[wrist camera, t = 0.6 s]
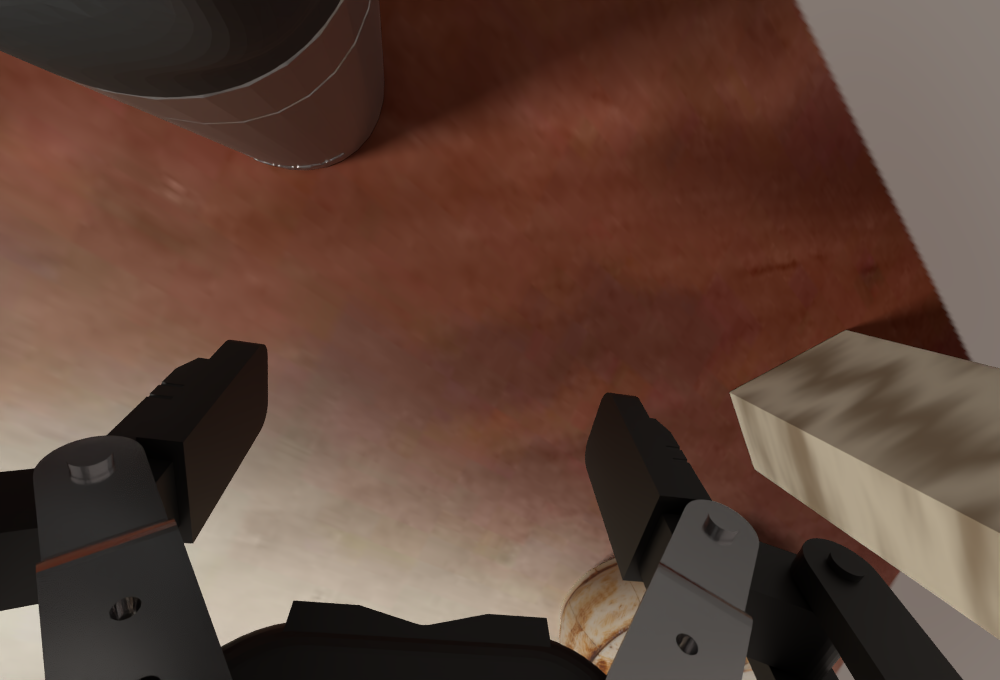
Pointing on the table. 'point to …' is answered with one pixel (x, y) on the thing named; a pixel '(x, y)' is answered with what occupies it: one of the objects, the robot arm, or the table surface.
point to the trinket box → (603, 615)
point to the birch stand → (891, 457)
